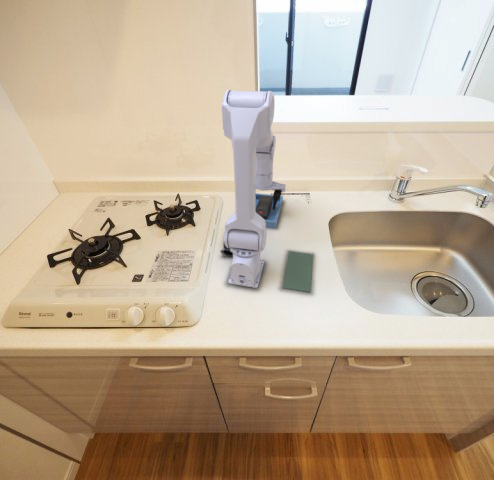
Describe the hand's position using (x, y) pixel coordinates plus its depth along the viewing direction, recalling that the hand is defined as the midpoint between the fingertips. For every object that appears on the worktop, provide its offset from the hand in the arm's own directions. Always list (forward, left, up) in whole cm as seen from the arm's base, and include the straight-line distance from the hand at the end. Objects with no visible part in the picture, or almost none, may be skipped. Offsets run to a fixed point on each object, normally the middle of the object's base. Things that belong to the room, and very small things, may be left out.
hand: (263, 206), depth 92 cm
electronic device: (-17, +4, -2) cm, 18 cm away
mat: (-26, -15, -2) cm, 30 cm away
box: (0, 0, -2) cm, 2 cm away
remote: (0, 0, -2) cm, 2 cm away
